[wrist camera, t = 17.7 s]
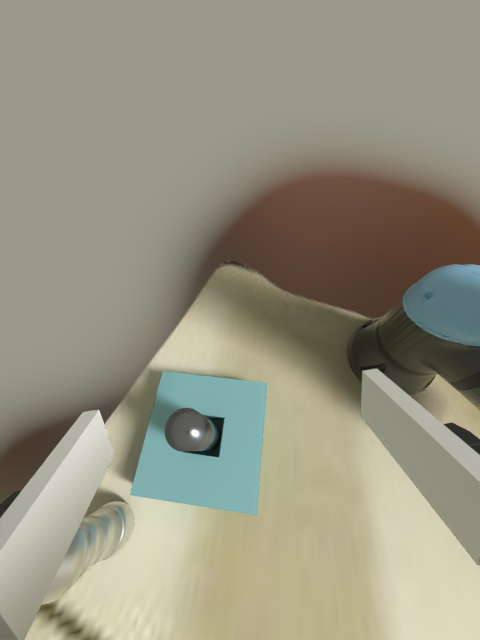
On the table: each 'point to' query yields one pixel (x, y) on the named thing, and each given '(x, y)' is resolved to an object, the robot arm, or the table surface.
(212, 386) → the socket block
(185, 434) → the pin
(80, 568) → the plastic bottle
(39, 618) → the table surface
